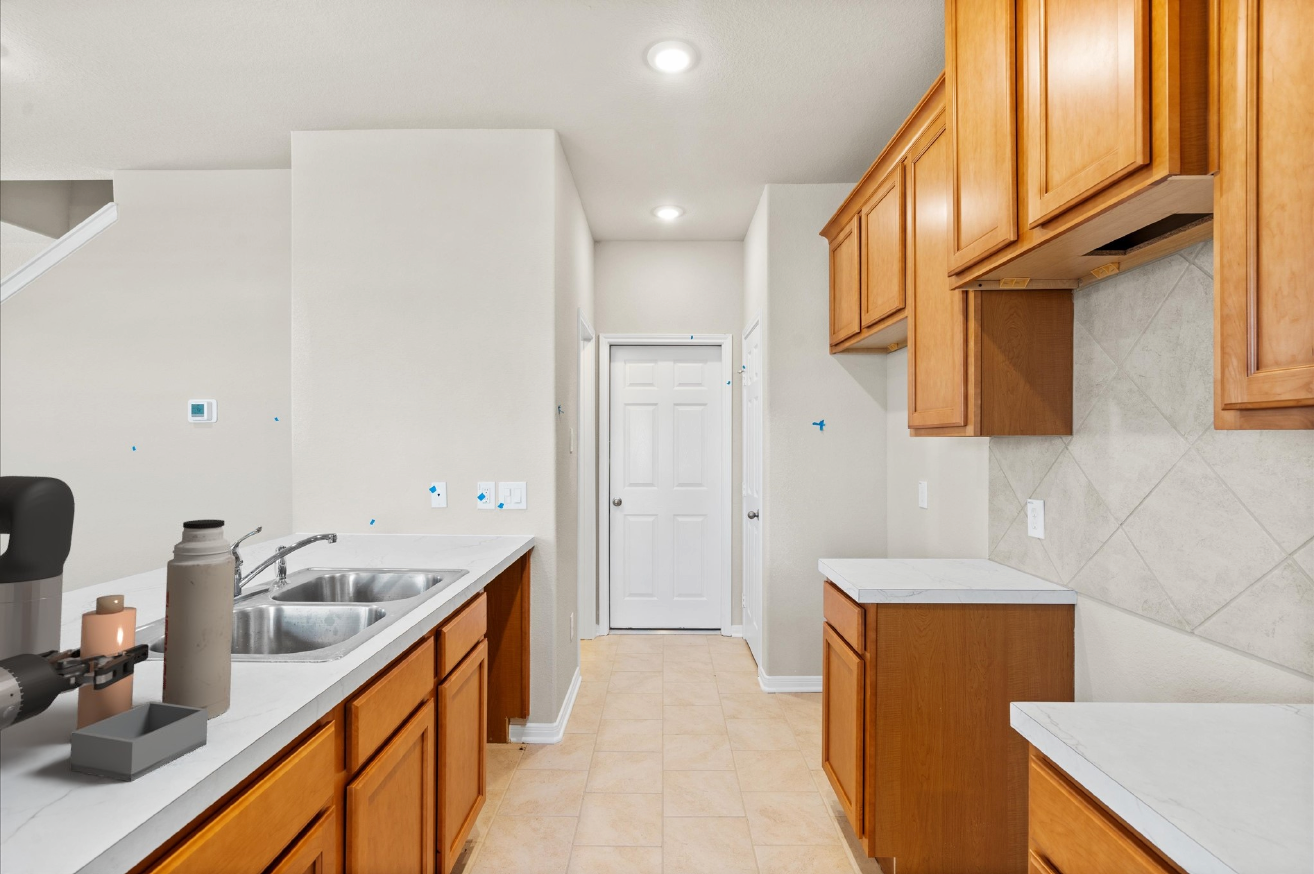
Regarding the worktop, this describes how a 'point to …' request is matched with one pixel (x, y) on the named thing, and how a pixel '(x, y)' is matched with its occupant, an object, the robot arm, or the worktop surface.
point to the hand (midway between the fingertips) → (124, 650)
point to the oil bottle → (106, 636)
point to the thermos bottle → (199, 619)
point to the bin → (138, 740)
